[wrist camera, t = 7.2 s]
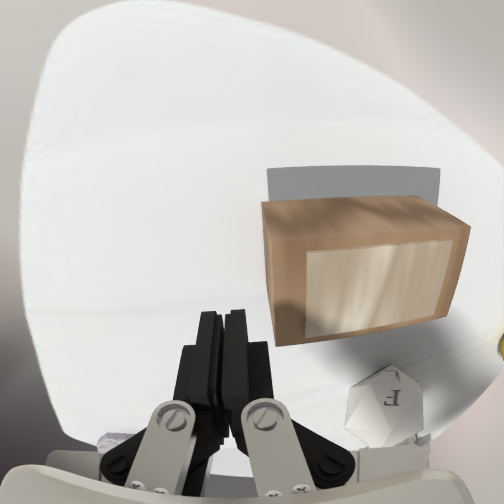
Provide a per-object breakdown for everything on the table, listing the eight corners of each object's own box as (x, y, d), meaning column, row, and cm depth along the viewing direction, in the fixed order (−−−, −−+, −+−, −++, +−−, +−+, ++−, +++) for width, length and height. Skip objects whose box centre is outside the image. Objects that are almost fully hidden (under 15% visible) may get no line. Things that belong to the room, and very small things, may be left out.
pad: (438, 168, 17) (440, 168, 16) (420, 287, 21) (421, 288, 21) (266, 168, 17) (267, 169, 16) (274, 306, 21) (274, 308, 21)
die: (421, 358, 26) (446, 386, 17) (405, 423, 26) (418, 467, 16) (353, 355, 29) (355, 385, 20) (341, 420, 28) (335, 465, 19)
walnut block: (261, 202, 17) (416, 195, 17) (266, 286, 20) (406, 270, 20) (271, 243, 12) (473, 228, 12) (276, 349, 14) (447, 318, 14)
